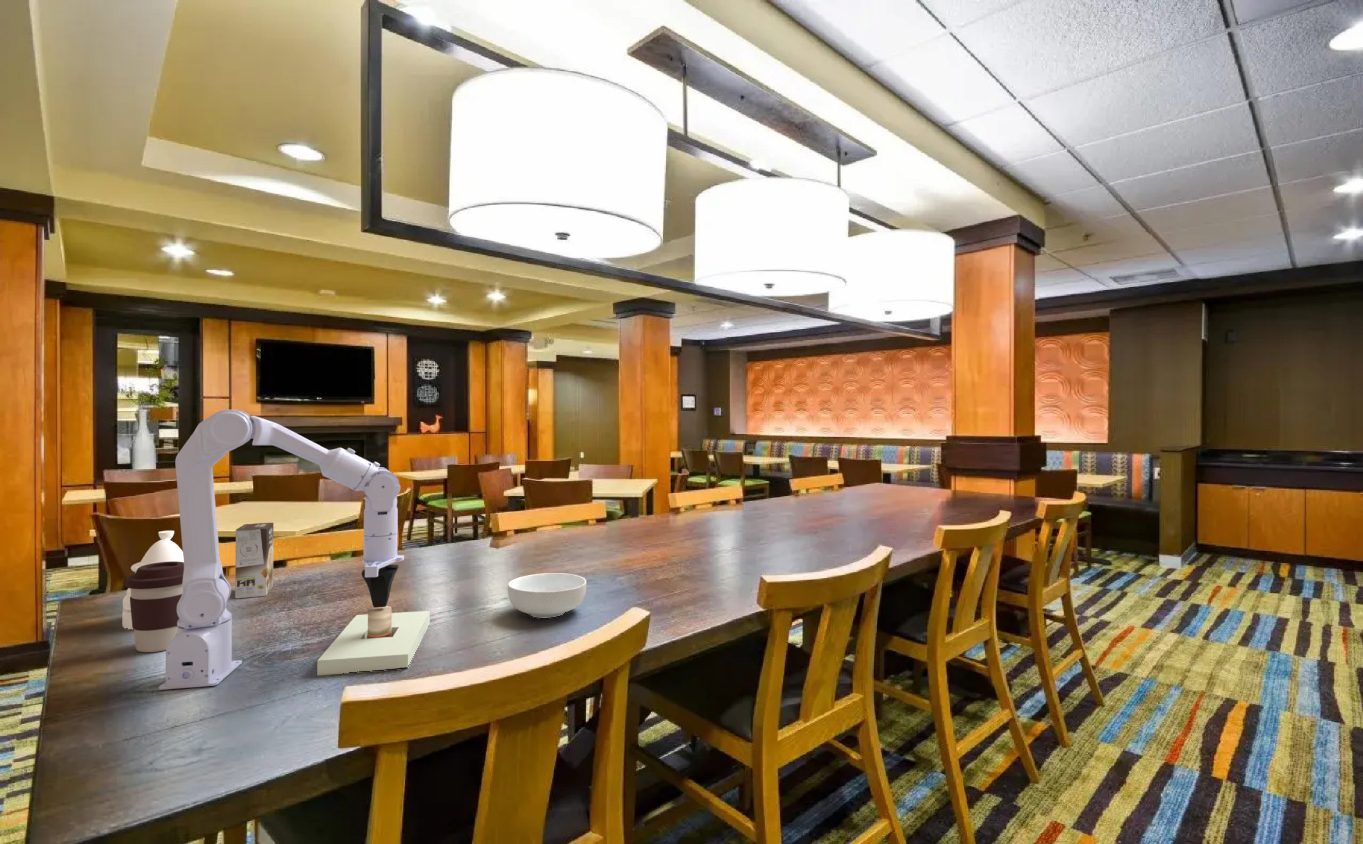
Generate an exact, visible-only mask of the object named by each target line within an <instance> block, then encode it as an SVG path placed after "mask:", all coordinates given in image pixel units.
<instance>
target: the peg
mask: <svg viewBox="0 0 1363 844" xmlns="http://www.w3.org/2000/svg"><path fill="white" fill-rule="evenodd" d="M392 613H393V611H392V606H388V605H386V607H376V608H374V607H373V606H372V607H370V608H369V609H368V610H367V614H368V639H370V638H385V637H391V633H392Z"/></svg>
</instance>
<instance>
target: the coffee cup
mask: <svg viewBox="0 0 1363 844" xmlns="http://www.w3.org/2000/svg"><path fill="white" fill-rule="evenodd" d="M183 573H184V562H178V561H171V562H159V563H152V564H148V565H144V566H141V567H139V568H138V569H137V571H136V573H135V572H134V574H131V575H128V576H126V579H125V587H126V588H127V589H128V588H131V597H130V607H131V618H132V628H133V629H134V630H133V632H134V643H135V649H136V651H138V652H140V653H156V652H163V651H166V649H167V646H168V644H169V643H170V642H171V641H172V640H173V638H174V637H175V636H176V633H177V621H178V620H179V619H180V618H179V617H178V614H177V604H178V602H179V600H180V598H181V596H182V593H183V586H182V582H183Z"/></svg>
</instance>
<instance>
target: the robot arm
mask: <svg viewBox="0 0 1363 844" xmlns="http://www.w3.org/2000/svg"><path fill="white" fill-rule="evenodd" d="M251 439H253V440H252V444H251V445H252V446H274V447H276V448H279V449H282V450H283V451H286V452H288V453H291V454H292V455H295V456H298V457H299V458H301V459H304V460H306V461H308V462H311V463H313V464H315V465H318V466H319V468H320V472H321V475H322V476H323V477H324V478H327V479H330V480H331V481H334V482H335V483H338V484H340V485H342V486H344V487H347V488H349V489H351V490H353V491H355V492H358V491H359V492H360V491H362V492H363V493H364V495H366V496H365V497H364V499H365V503H364V505H365V506H364V507H365V508H364V510H363V557H362V559H361V561H362V562H361V563H362V564H363V566H364V569H363V570H362V571H361V576H362V578H363V580H364V582H365V583H366V586H367V588H368V591H369V595H370V599H371V603H372V608H373V607H374V608H376V607H386V606H388V602H389V598H390V593H391V589H392V584H393V581H394V578H395V576H396V573H397V571H398V570H399V564H394V563H397V562H402V561H404V560H405V555H404V554H403V555H399V554H398V533H399V532H398V531H399V530H398V529H399V528H398V527H399V526H398V522H399V521H398V519H399V516H398V513H399V512H398V510H399V509H398V506H397V505H398V495H399V494H400V491H401V487H402V486H401V485H400V481H399V479H398V477H397V475H395V474H394V473H392V472H391V471H390V470H388V469H387V467H386V468H385V467H380V466H381V464H380V463H379V462H377V461H374V462H371V461H369V460H368V459H365V458H364V457H361V456H359V455H357V454H355V453H356V451H355V450H354V449H352V448H350V447H348V448H347V449H344V448H342V447H337V448H333V449H328V448H325V447H323V446H321V445H320V444H318V443H316V442H314V441H312V440H309V439H308V438H306V437H304V436H302V435H300V434H298V433H297V432H295V431H292V430H291V429H289V428H287V427H285V426H283V425H281V424H279V423H277V422H274V421H272V420H267V419H266V418H262V417H261V416H260V417H259V416H256V415H250V414H249V413H248V412H245V411H244V410H239V409H223V410H219V411H216V412H214V413H212V414H211V415H210V416H208V417H206V418H205V419H204V420H202V421H201V422H199V423H198V425H197V426H196V428H195V430H194V431H193V433H192V434H191V435H190V437H189V438H188V440H186V442H185V443H184V445H183V446H182V448H181V449H180V450H179V452H178V453H177V455H176V457H175V462H174V463H175V475H176V485H177V497H178V498H177V499H178V509H179V519H180V521H179V522H180V533H181V535H180V536H181V545H182V547H181V548H182V551H183V559H184V573H183V582H182V586H183V593H182V596H181V598H180V600H179V602H178V604H177V614H178V617H179V618H180V619H179V620H178V621H177V633H176V636H175V637H174V638H173V640H172V641H171V642H170V643H169V644H168V646H167V649H166V650H165V682H163V683H162V684H161V685H159V686H158V690H159V691H161V690H173V689H175V690H176V689H186V688H200V687H201V688H202V687H210V686H211V687H213V686H217V685H218V684H219V683H221V682H222V681H223V680H224V679H225V678H227V677H228V676H229V675H230V674H231V673H232V672H234V671H235V670H236V669H237V668H238V667H239V666H240V665H242V664H243V660H241V659H239V660H233V656H232V654H233V652H232V651H233V650H232V649H233V646H232V644H233V643H232V642H233V641H232V640H233V639H232V637H233V631H232V630H233V624H232V623H233V618H232V617H233V614H232V612H230V611H229V610H228V609H227V603H228V601H229V599H230V596H231V594H232V586H231V585H230V582H229V581H228V580H227V579H226V577H225V575H224V571H223V565H222V562H221V558H220V546H219V545H220V544H219V534H218V531H219V530H218V522H217V507H216V497H215V485H214V484H215V483H214V472H213V471H214V470H213V467H214V465H216V464H217V463H218V462H219V461H221V459H222V458H224V456H226V455H227V454H228V453H229V452H230V451H233V450H236V449H237V448H239V447H241V446H243V445H245V444H247V443H248V442H249V441H250V440H251Z"/></svg>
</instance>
